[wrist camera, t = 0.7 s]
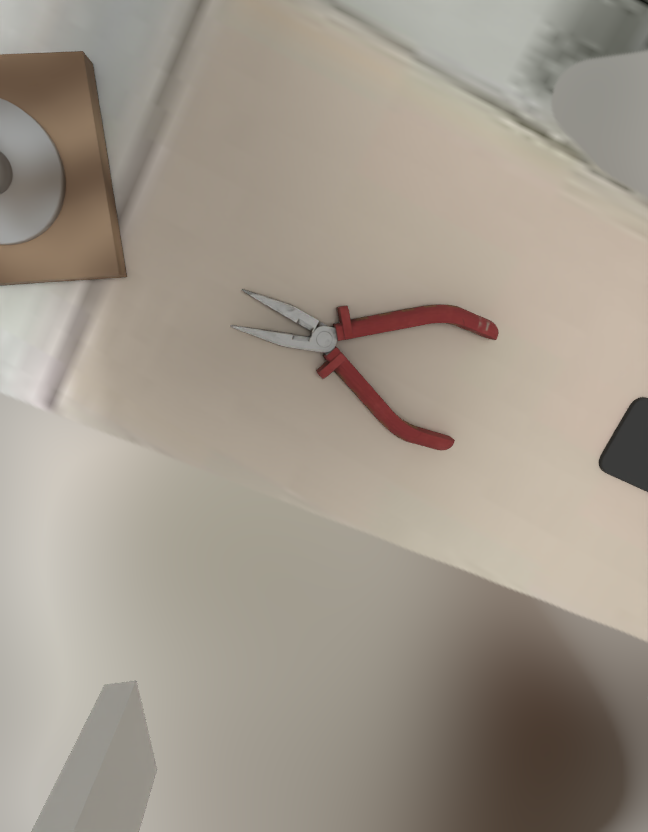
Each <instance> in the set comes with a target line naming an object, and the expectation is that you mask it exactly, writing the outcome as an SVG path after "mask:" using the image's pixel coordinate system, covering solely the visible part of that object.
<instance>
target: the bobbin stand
mask: <svg viewBox="0 0 648 832" xmlns="http://www.w3.org/2000/svg"><path fill="white" fill-rule="evenodd" d="M121 277H127V275H126V269H125V263H124V256H123V250H122V244H121V238H120V231H119V225H118V219H117V213H116V206H115V200H114V194H113V188H112V181H111V175H110V169H109V163H108V156H107V150H106V144H105V138H104V131H103V125H102V119H101V113H100V106H99V100H98V94H97V88H96V81H95V75H94V69H93V64H92V62H91V61H90V60H89V59H88V57H87V56H86V55H85V53H84V52H83V51H78V52H53V53H28V54H3V55H0V285H15V284H30V283H45V282H60V281H75V280H90V279H106V278H121Z"/></svg>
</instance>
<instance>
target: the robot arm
mask: <svg viewBox="0 0 648 832" xmlns="http://www.w3.org/2000/svg"><path fill="white" fill-rule="evenodd" d="M156 771H157V767H156V762H155V758H154V754H153V750H152V745H151V741H150V736H149V733H148V728H147V724H146V719H145V715H144V711H143V706H142V702H141V698H140V694H139V689H138V685H137V681H130V682H122V683H115V684H107V685H104V687H103V689H102V691H101V693H100V695H99V697H98V699H97V701H96V703H95V705H94V707H93V709H92V711H91V713H90V715H89V717H88V719H87V721H86V723H85V725H84V727H83V729H82V731H81V733H80V735H79V737H78V739H77V741H76V743H75V745H74V747H73V749H72V751H71V753H70V755H69V757H68V759H67V761H66V763H65V765H64V767H63V769H62V771H61V773H60V775H59V777H58V779H57V781H56V783H55V785H54V787H53V789H52V791H51V793H50V795H49V797H48V799H47V802H46V803H45V805H44V807H43V809H42V812H41V813H40V815H39V818H38V819H37V821H36V823H35V825H34V828H33V829H32V831H31V832H139V830H140V826H141V823H142V819H143V816H144V813H145V809H146V806H147V802H148V799H149V796H150V792H151V789H152V785H153V782H154V778H155V775H156Z"/></svg>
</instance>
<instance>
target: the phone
mask: <svg viewBox="0 0 648 832" xmlns="http://www.w3.org/2000/svg"><path fill="white" fill-rule="evenodd" d="M599 466H600V468H601V470H603V471H604V472H606V473H608V474H610V475H612V476H614V477H616V478H618V479H621V480H623V481H625V482H627V483H629V484H632V485H634V486H636V487H638V488H640V489H643V490H645V491H647V492H648V398H644V397H641V398H638V399H636V400H634V401H633V402H632V403H631V405H630V406H629V408H628V409H627V411H626V413H625V415H624V416H623V418H622V420H621V421H620V423H619V425H618V427H617V428H616V430H615V432H614V433H613V435H612V437H611V439H610V440H609V442H608V444H607V445H606V447H605V449H604V451H603V452H602V454H601V456H600V459H599Z"/></svg>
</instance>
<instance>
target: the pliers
mask: <svg viewBox="0 0 648 832" xmlns="http://www.w3.org/2000/svg"><path fill="white" fill-rule="evenodd" d="M241 291H243V292H245V293H246V294H248V295H250V296H252V297H253V298H255V299H257V300H258V301H260V302H262V303H264V304H265V305H267V306H269V307H270V308H272V309H274V310H275V311H277V312H279V313H281V314H282V315H284V316H286V317H287V318H289V319H291V320H292V321H294V322H296V323H298V324H300V325H301V326H303V327H305V328H306V329H308V330H310V331H311V332H312V333H311V337H310V336H309V337H304V336H297V335H293V334H290V333H283V332H276V331H269V330H262V329H255V328H248V327H241V326H234V325H230V327H232V328H235V329H237V330H240V331H243V332H245V333H248V334H251V335H253V336H256V337H258V338H261V339H264V340H266V341H269V342H272V343H274V344H277V345H280V346H284V347H290V348H296V349H303V350H310V351H317V352H323V353H324V355H323V357H324V358H325V359H326V360H327V361H326V362H325V363H324V364H323V365H322V366H321V367H319V368H318V369H317V370H316V371H317V373H318V374H319V375H320V376H321V378H322V379H324V378H325V377H327V376H328V375H329V374H330V373H331V372H333V371H335V372H336V373H337V374H338V375H339V376H340V378H341V379H342V380H343V381H344V382H345V383H346V384H347V385H348V387H349V388H350V389H351V390H352V391H353V392H354V393H355V394H356V396H357V397H358V398H359V399H360V400H361V401H362V402H363V403H364V405H365V406H366V407H367V408H368V409H369V410H370V411H371V412H372V414H373V415H374V416H375V417H376V418H377V419H378V420H379V421H380V422H381V423H382V424H383V425H384V426H385V427H386V428H387V429H388V430H389V431H390V432H392V433H393V434H394V435H396V436H397V437H399V438H401V439H402V440H404V441H407V442H411V443H414V444H418V445H422V446H426V447H429V448H433V449H437V450H447V449H449V448H451V447H452V446H453V444H454V441H455V440H454V439H453V438H451V437H449V436H447V435H443V434H440V433H437V432H433V431H430V430H427V429H423V428H420V427H416V426H414V425H411V424H409V423H407V422H405V421H404V420H402V419H401V418H399V417H398V416H397V415H396V414H395V413H394V412H393V411H392V410H391V409H390V407H389V406H388V405H387V404H386V403H385V402H384V401H383V399H382V398H381V397H380V396H379V395H378V394H377V393H376V391H375V390H374V389H373V388H372V387H371V386H370V385H369V383H368V382H367V381H366V380H365V379H364V378H363V377H362V375H361V374H360V373H359V372H358V371H357V370H356V369H355V367H354V366H353V365H352V364H351V363H350V362H349V361H348V359H347V358H346V357H345V356H344V355H343V354H342V352H340V350H339V349H338V348H337V347H336V343H337V340H338V341H340V340H346V339H352V338H356V337H362V336H367V335H372V334H378V333H383V332H388V331H393V330H399V329H404V328H409V327H415V326H420V325H425V324H431V323H449V324H452V325H456V326H458V327H460V328H463V329H465V330H468V331H470V332H473V333H475V334H478V335H480V336H483V337H485V338H488V339H492V340H496V339H497V336H498V329H497V327H496V325H495V324H494V323H493V322H491V321H490V320H488V319H485V318H483V317H480V316H478V315H476V314H474V313H471V312H469V311H467V310H464V309H462V308H460V307H457V306H452V305H428V306H421V307H415V308H410V309H404V310H399V311H394V312H388V313H383V314H378V315H372V316H367V317H361V318H356V319H351V320H350V314H349V309H348V306H342V307H337V310H338V316H339V322H340V323H336V324H333V327H328V326H327V325H325V324H323V323H322V322H320V321H318V320H317V319H315V318H313V317H312V316H310V315H308V314H306V313H305V312H303V311H301V310H300V309H298V308H296V307H294V306H293V305H290V304H287V303H284V302H281V301H278V300H274V299H271V298H268V297H265V296H262V295H259V294H256V293H253V292H250V291H246V290H243V289H242V290H241Z"/></svg>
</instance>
